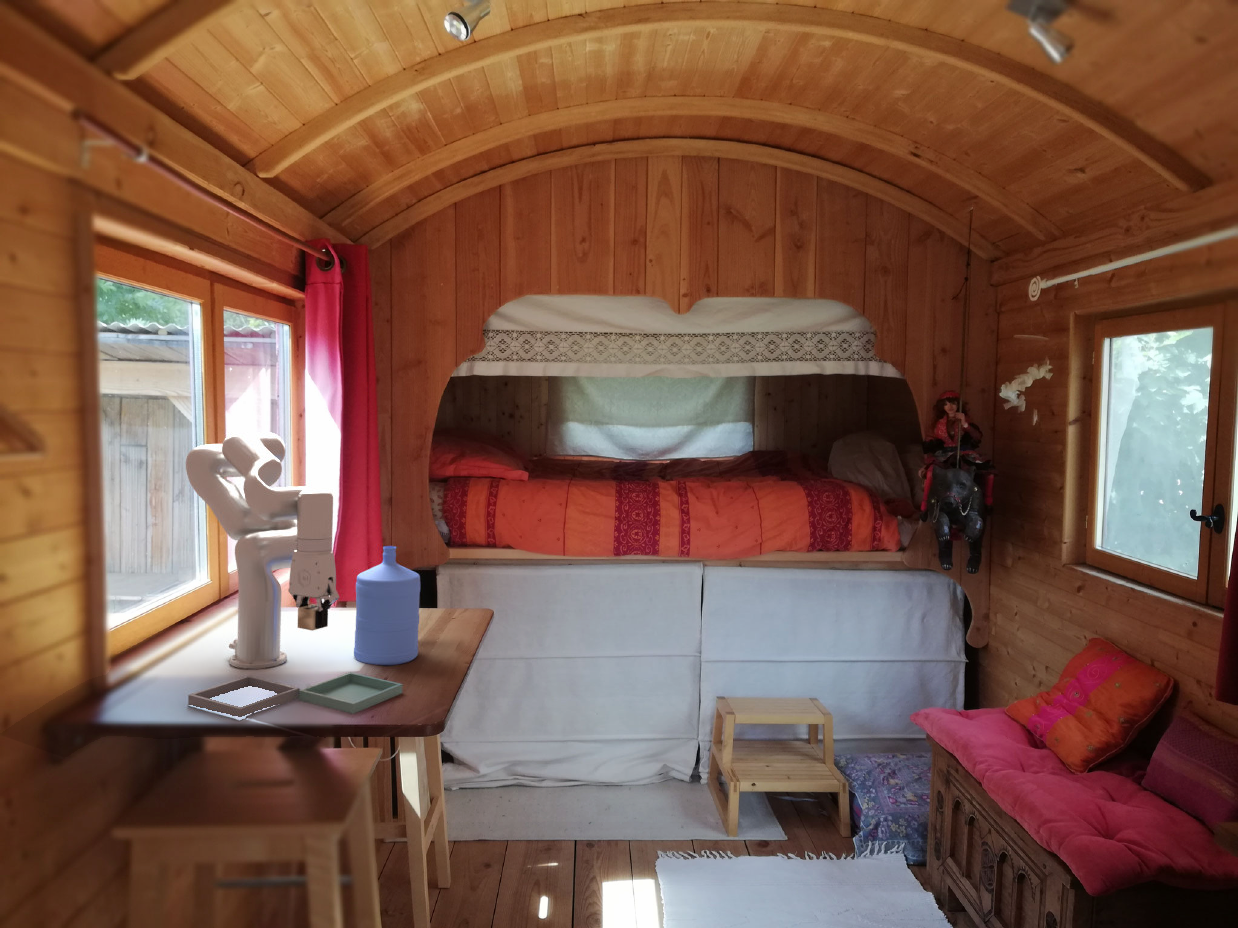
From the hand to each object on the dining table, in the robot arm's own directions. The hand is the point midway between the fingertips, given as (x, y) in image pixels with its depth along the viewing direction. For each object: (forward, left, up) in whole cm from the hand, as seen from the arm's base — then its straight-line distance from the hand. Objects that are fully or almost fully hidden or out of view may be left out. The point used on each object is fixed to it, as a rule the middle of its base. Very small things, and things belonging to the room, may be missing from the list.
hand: (312, 624), depth 188 cm
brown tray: (-1, -17, -13) cm, 21 cm away
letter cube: (0, 0, -1) cm, 1 cm away
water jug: (+1, +24, -13) cm, 28 cm away
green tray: (+15, -3, -13) cm, 20 cm away
